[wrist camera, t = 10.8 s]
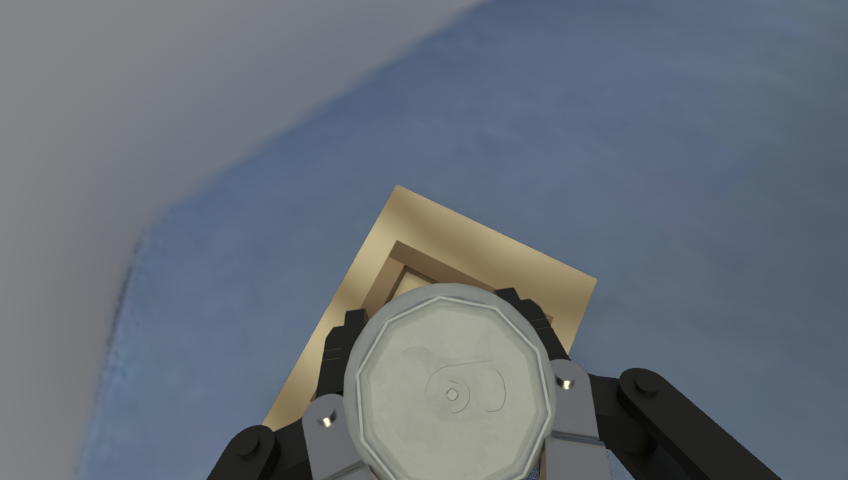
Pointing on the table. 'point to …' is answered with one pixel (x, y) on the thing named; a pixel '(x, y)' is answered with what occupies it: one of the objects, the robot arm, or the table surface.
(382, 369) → the beer can
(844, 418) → the table surface
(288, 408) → the base board
